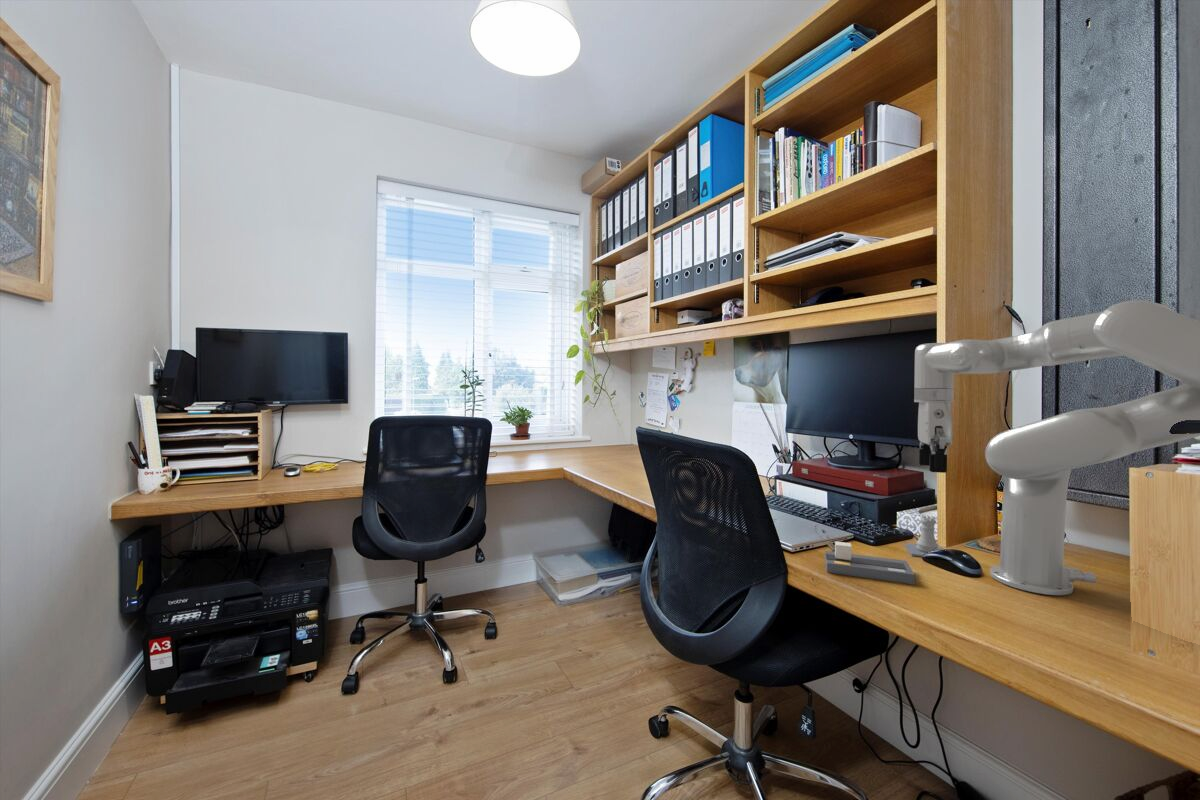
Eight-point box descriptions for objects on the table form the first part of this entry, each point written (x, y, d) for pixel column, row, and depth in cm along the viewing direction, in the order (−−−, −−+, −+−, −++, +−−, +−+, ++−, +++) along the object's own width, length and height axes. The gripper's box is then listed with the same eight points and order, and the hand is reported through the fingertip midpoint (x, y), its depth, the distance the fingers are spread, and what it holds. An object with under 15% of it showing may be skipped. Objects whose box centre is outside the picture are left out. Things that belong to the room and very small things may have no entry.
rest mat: (942, 549, 117) (942, 547, 117) (952, 560, 109) (952, 558, 109) (904, 544, 120) (904, 542, 120) (911, 555, 112) (911, 553, 112)
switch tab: (849, 556, 105) (850, 543, 105) (851, 560, 103) (851, 546, 103) (834, 554, 107) (835, 541, 106) (835, 558, 104) (836, 544, 104)
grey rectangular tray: (905, 569, 104) (906, 560, 104) (914, 584, 97) (914, 574, 96) (824, 559, 110) (824, 550, 110) (826, 572, 103) (827, 562, 102)
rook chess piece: (919, 545, 117) (920, 513, 117) (941, 550, 114) (942, 517, 114) (913, 549, 115) (914, 517, 114) (935, 555, 111) (936, 521, 111)
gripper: (964, 397, 103) (963, 476, 104) (941, 395, 119) (940, 463, 120) (923, 397, 106) (922, 474, 106) (906, 395, 122) (905, 462, 122)
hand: (932, 468), depth 113 cm, fingers open, 9 cm apart
